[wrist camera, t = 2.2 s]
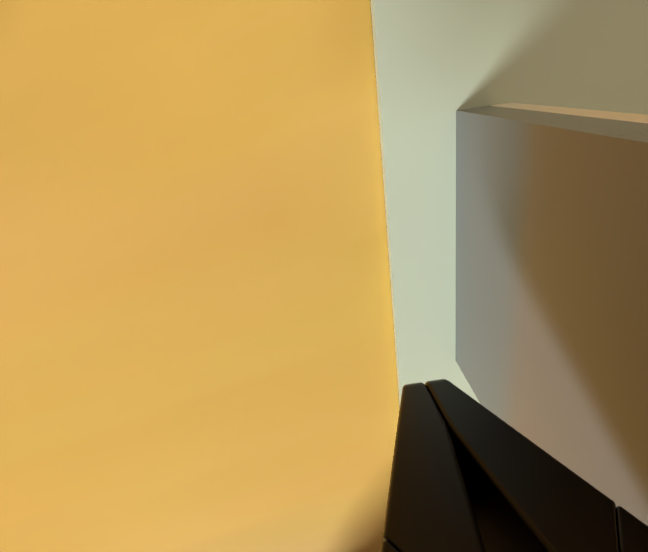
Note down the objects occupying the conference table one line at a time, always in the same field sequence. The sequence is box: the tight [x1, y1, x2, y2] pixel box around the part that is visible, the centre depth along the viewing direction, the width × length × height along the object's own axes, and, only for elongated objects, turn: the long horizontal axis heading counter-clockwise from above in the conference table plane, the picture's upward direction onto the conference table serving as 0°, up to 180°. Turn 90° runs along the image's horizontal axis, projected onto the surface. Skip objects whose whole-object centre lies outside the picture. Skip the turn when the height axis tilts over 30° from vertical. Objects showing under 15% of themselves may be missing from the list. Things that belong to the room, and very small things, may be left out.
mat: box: [371, 0, 648, 405], centre depth 15 cm, size 22×17×1 cm
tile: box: [455, 103, 648, 526], centre depth 10 cm, size 9×2×9 cm, turn 7°
